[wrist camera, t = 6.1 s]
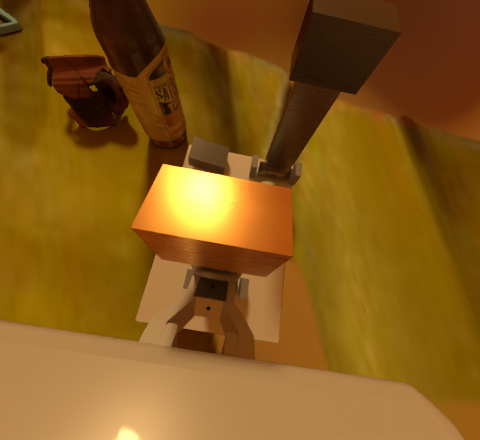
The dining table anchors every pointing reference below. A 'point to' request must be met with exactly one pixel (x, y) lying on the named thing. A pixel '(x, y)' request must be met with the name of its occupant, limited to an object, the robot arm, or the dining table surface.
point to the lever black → (328, 69)
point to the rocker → (208, 155)
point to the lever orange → (217, 223)
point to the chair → (12, 24)
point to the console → (248, 287)
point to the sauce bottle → (141, 66)
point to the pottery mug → (87, 88)
